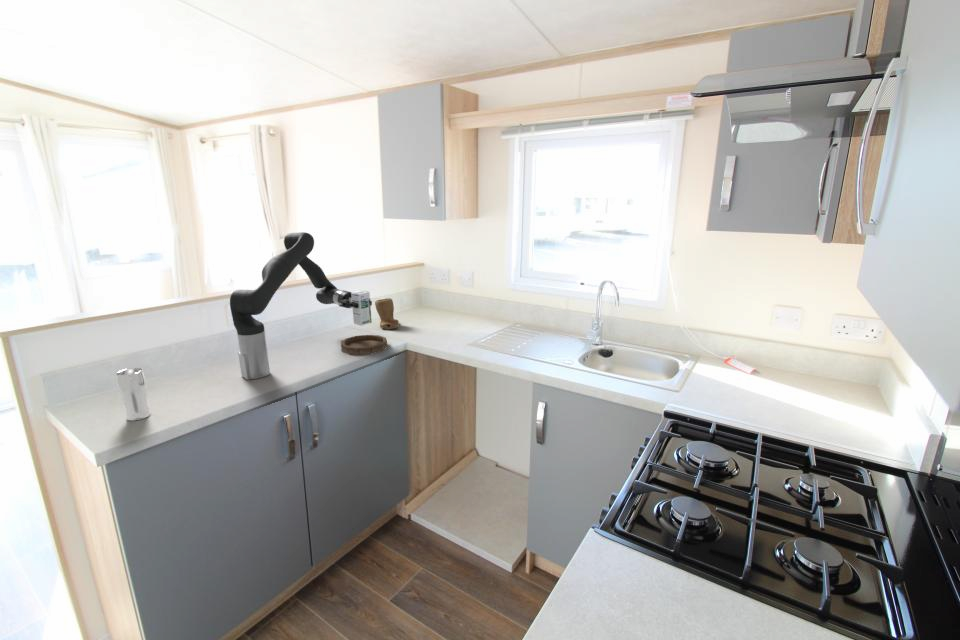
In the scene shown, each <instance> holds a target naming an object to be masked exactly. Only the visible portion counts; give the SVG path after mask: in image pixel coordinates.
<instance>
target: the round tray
mask: <svg viewBox="0 0 960 640" xmlns="http://www.w3.org/2000/svg"><path fill="white" fill-rule="evenodd" d="M340 346H341V347H340V348H341V352H342V351H343V352H342V353H344V352H345V353H344V354H347V355H352V354H354V356H363V354H366V355H372V354H371V353H374V354H376V353H375V352H377V353H380V352H379V351H381V352H383V351H385V350H386V349H387V348H388V340H387V337H385V336H382V335H378V334H361V335H354V336H351V337H347V338H345V339H344V340H341V343H340ZM386 347H387V348H386ZM385 348H386V349H385Z"/></svg>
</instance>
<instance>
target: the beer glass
mask: <svg viewBox="0 0 960 640" xmlns="http://www.w3.org/2000/svg"><path fill="white" fill-rule="evenodd" d="M115 377H116V384H117V390H118V394H119V395H120V397H121V400H122V401H123V404H124V407H125V410H126V411H125V412H126V420H127V421H129V420H130V421H129V422H135V420H137V421H139V420H144V419H146V417H147V418H149V417H150V416H151V414H152V412H151V410H150V408H149V406H148V400H147V397H148V395H147V394H148V393H147V392H148V387H147V380H146V377H145V374H144V369H143V368H141V367H131V368H130V367H129V368H125V369H122V370H119V371H117V372H116V373H115Z"/></svg>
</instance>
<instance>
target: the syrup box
mask: <svg viewBox="0 0 960 640" xmlns="http://www.w3.org/2000/svg"><path fill="white" fill-rule="evenodd" d="M370 296H371V294H370V291H368V290H358V291H352V293H351V297H352V302H355V303H358V308H354V307H352V308H351V309H352V317H353V318H352V319H353V324H354V325H357V326H365V325H369V324H371V323H372V322H373V319H372V310H371V309H372V307H371V306H370V301H371V297H370Z"/></svg>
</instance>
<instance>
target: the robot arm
mask: <svg viewBox="0 0 960 640" xmlns="http://www.w3.org/2000/svg"><path fill="white" fill-rule="evenodd" d="M283 244H284V248H285V251H283V252H280V253H279V254H276V255H275V256H273V257H272V258H270V259H269V260H268V262H267V263H265V265H264V266H263V268H262V270H261V277H262V278H261V279H262V283H260V285H259V286H258V287H257V288H255V289H235V290H234V291H233V292H232V293H231V295H230V297H229V306H230V313H231V318H232V322H233V326H234V328H235V330H236V333H237V340H238V348H239V352H237V354H238V361H239V367H240V373H241V377H243V378H244V379H246V380H247V381H249V380H256V379H257V380H259V379H262V378H265V377H267V376H269V375H270V373H271V371H270V369H271V368H270V362H269V361H270V360H269V355H268V353H269V352H268V348H267V347H268V345H267V338H266V331H265V325H264V323H263V322H262V321H259V320H257V319H256V318H255V317H253V316H258V315H260V314H263V312H264V311H265V309H267V307H268V305H269V304H270V302H271V300H272V299H273V297H274V295H275V294H276V293H277V291H278V290H279V288H280V287H281V286H282V285H283V283H284V282H285V281H286V280H287V279H288V277H290V275H291V274H292V273H293V271H294V270H295V269H296V267H298V265H299V266H300V267H301V269H302V270H303V271H304V272H305V274H306V275H307V277H308V279H309V281H310V282H311V284H312V285H313V287H314V288H316V289H318V291H317V292H316V294H315V299H316V300H317V301H318V302H319V303H320V304H323V305H331V304H332V305H333V304H334V305H335V304H336V305H338V307H341V308H345V309H353V308H352V307H354V308H358V303H355V302H352V297H351V293H352V292H353V291H352V292H351V291H348V290H343V289H338V288H337V287H336V285H334V284H333V283H332V282H331V281H330V280H329V279H328V277H327V276H326V274H325V272H324V270H323V268H322V267H320V266H319V264H317V263H316V262H314V261H313V260H312V259H311V258H309V257H308V255H309V254H311V253H312V251H313V249H314V246H315V238H314V236H313V235H312V234H310V233H309V232H305V231H303V232H291V233H287V234H286V235H285V236H284V240H283ZM371 306H373V302H372V300H370V307H371Z"/></svg>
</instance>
